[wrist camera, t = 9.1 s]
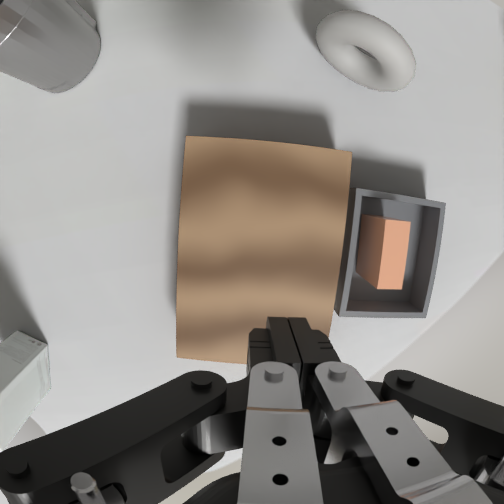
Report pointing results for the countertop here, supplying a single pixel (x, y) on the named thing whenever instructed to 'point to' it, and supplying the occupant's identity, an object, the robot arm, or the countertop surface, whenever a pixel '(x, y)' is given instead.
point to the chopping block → (256, 240)
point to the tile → (383, 250)
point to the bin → (417, 262)
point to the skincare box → (21, 382)
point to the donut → (371, 40)
